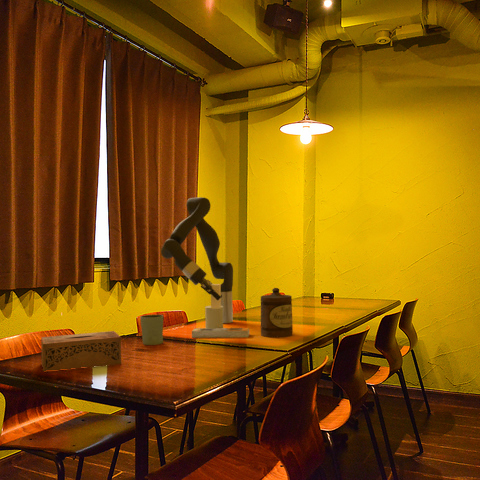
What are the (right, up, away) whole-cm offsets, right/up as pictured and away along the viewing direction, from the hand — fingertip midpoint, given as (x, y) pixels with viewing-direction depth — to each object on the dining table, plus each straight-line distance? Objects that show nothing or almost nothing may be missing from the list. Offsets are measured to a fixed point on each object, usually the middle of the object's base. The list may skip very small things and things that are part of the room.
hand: (220, 298), depth 224 cm
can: (-4, -18, +19) cm, 27 cm away
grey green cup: (-29, -18, -15) cm, 37 cm away
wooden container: (+27, -17, 0) cm, 32 cm away
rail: (0, -18, -1) cm, 18 cm away
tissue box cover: (-48, -18, -52) cm, 73 cm away
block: (-2, -5, 0) cm, 5 cm away
